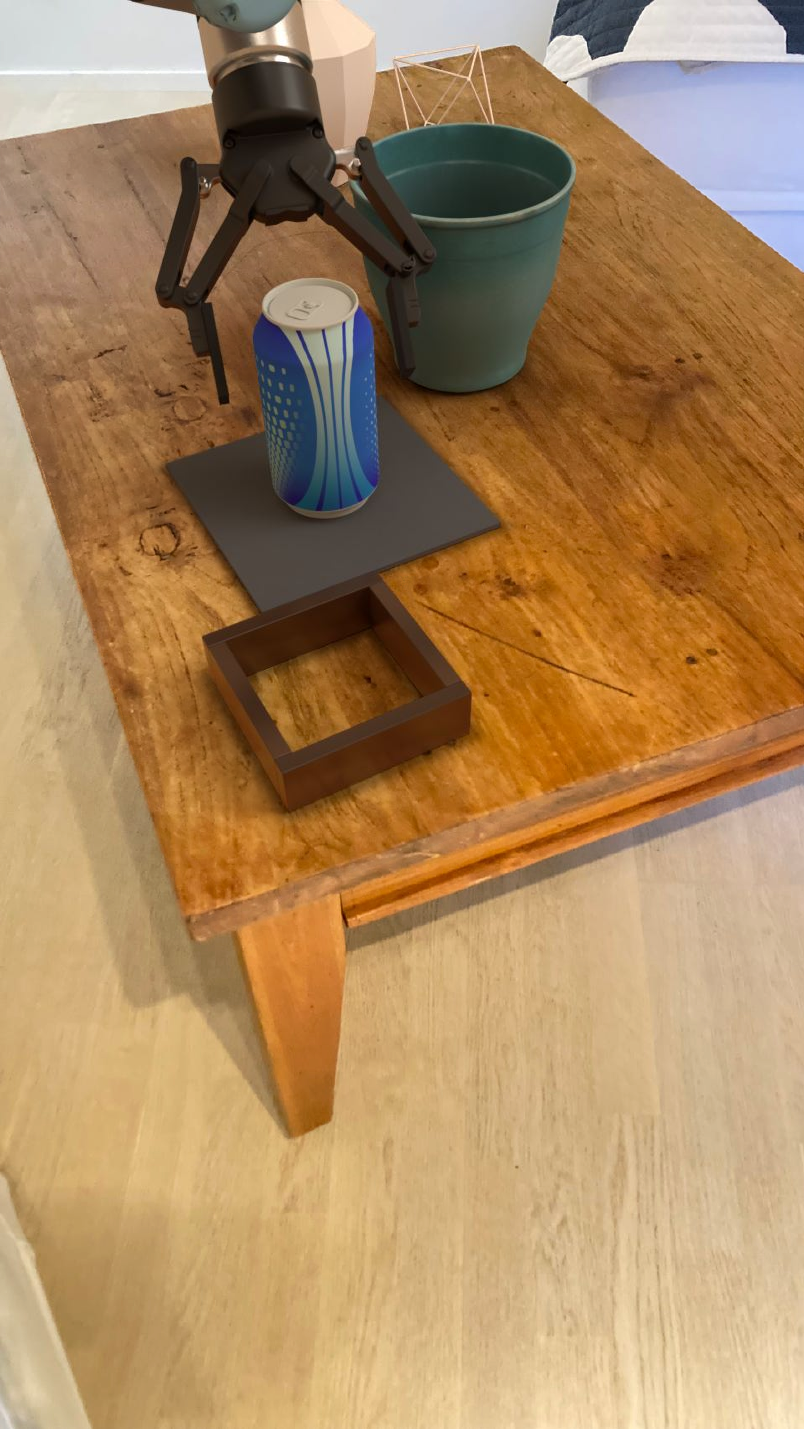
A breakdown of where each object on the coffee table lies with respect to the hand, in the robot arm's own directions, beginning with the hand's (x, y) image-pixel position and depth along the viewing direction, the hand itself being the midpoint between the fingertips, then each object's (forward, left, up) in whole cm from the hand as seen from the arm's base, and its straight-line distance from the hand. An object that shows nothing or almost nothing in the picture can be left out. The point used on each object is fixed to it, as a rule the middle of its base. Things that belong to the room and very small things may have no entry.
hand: (317, 387), depth 77 cm
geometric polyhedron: (-54, +42, -10) cm, 69 cm away
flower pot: (-12, +19, -10) cm, 25 cm away
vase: (-54, +25, -10) cm, 60 cm away
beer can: (0, 0, -9) cm, 9 cm away
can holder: (+20, -9, -10) cm, 24 cm away
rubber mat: (0, 0, -10) cm, 10 cm away
